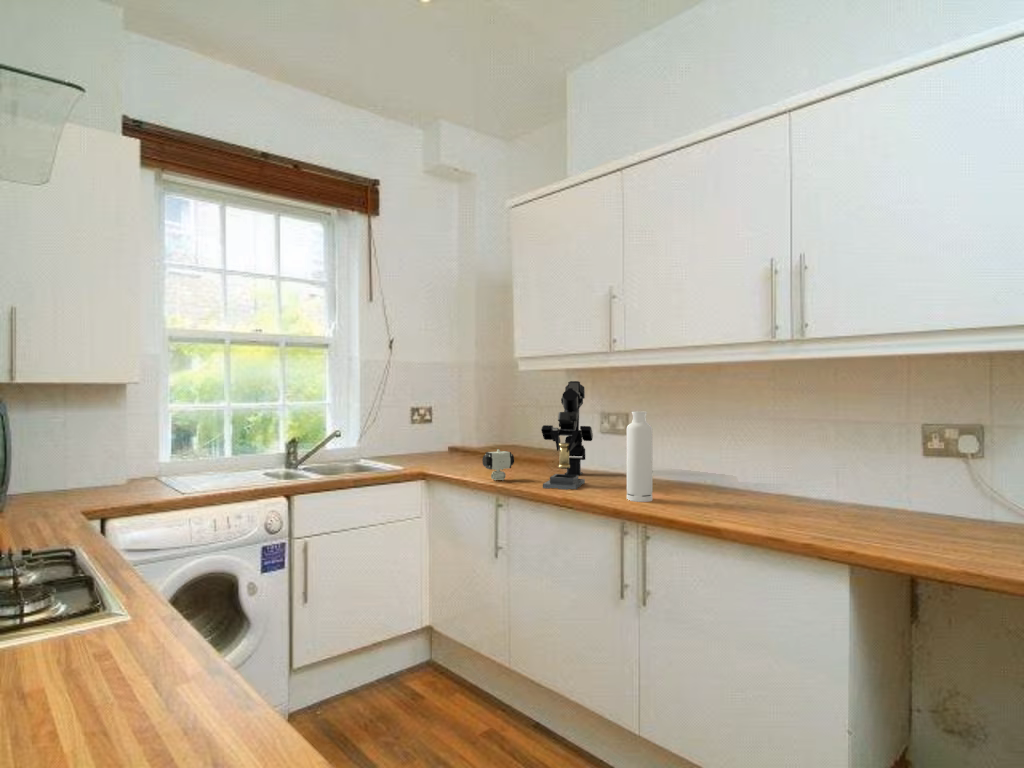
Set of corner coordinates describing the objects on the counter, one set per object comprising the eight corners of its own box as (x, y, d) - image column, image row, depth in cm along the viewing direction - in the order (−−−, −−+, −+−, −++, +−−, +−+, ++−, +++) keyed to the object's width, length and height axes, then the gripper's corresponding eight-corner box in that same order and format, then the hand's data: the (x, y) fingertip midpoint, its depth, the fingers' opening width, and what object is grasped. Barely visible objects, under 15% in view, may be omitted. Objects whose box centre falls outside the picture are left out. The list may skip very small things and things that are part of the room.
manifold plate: (553, 481, 219) (553, 472, 219) (584, 483, 215) (584, 473, 215) (542, 488, 204) (542, 478, 204) (575, 489, 200) (575, 479, 200)
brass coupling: (560, 466, 213) (560, 442, 213) (571, 467, 211) (571, 443, 211) (557, 468, 209) (557, 443, 209) (568, 468, 207) (568, 444, 207)
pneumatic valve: (482, 480, 222) (482, 449, 222) (509, 478, 227) (509, 448, 227) (487, 482, 217) (487, 450, 217) (515, 480, 222) (515, 449, 222)
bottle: (628, 496, 188) (628, 411, 188) (653, 498, 185) (653, 411, 186) (624, 500, 180) (624, 412, 180) (651, 502, 177) (651, 412, 178)
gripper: (542, 403, 217) (534, 435, 206) (591, 404, 211) (585, 436, 200) (547, 423, 224) (540, 454, 214) (595, 424, 218) (589, 456, 208)
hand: (563, 450), depth 209 cm, fingers closed on brass coupling, 4 cm apart
